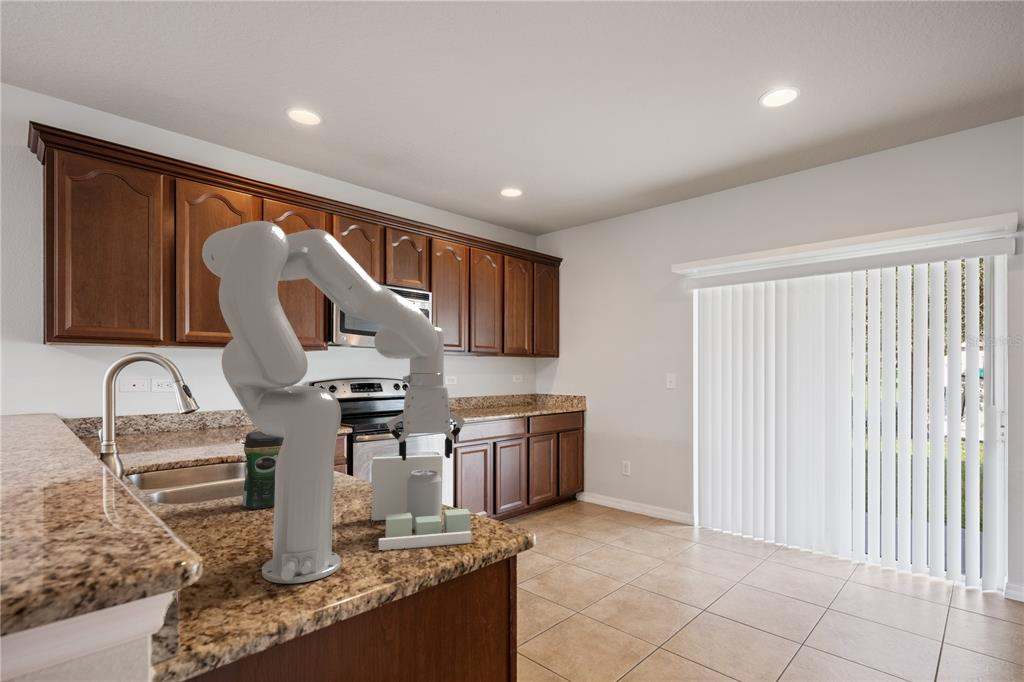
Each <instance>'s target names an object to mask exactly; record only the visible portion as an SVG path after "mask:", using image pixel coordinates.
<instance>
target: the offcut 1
mask: <svg viewBox="0 0 1024 682" xmlns="http://www.w3.org/2000/svg"><path fill="white" fill-rule="evenodd" d="M404 536H413V529H412V515H411V512H410V513H395V514H386V520H385V535H384V538H391V537H404Z"/></svg>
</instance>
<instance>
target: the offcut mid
mask: <svg viewBox="0 0 1024 682" xmlns="http://www.w3.org/2000/svg"><path fill="white" fill-rule="evenodd" d="M442 532H443V521H442V518H440V516H425V517H415V530H414V536H416V535H428V534H441V533H442Z"/></svg>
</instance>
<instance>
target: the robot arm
mask: <svg viewBox="0 0 1024 682" xmlns="http://www.w3.org/2000/svg"><path fill="white" fill-rule="evenodd" d="M201 252H202V253H201V256H202V260H203V263H204V264H205V266H206V268H207V269H208V270H209V271H210V272H211V273H212V274H213V275H215V276H217V277H219V278H220V281H219V287H218V288H219V289H218V302H219V308H220V311H221V314H222V317H223V319H224V321H225V323H226V325H227V327H228V330H229V331H230V333H231V336H232V337H233V338H232V339H231V340H230V341H229V342H228V343H227V344H226V345H225V346H224V348H223V352H222V355H221V370H222V372H223V376H224V378H225V379H226V382H227V384H228V386H229V387H230V389H231V391H232V393H233V394H234V396H235V398H236V400H237V401H238V402H239V404H240V406H241V407H242V409H243V410H244V412H245V414H246V415H247V417H248V419H249V420H250V422H251V423H252V425H254V427H255V428H257V430H258V431H261V432H262V433H264V434H267V435H270V436H274V437H280V438H284V440H283V443H282V446H281V449H280V451H279V454H278V457H277V462H276V468H275V501H274V506H273V512H274V513H273V535H272V537H273V539H272V544H273V545H272V558H271V559H269V560H268V561H266V562H265V563H264V564H263V566H262V567H261V576H262V577H263V579H265V580H266V581H268V582H271V583H274V584H275V583H276V584H284V585H285V584H301V583H308V582H312V581H317V580H320V579H323V578H325V577H328V576H330V575H332V574H333V573H335V572H336V571H338V569H340V567H341V564H342V563H341V561H342V559H341V556H340V555H339V554H337V553H336V552H333V520H334V519H333V515H334V479H335V477H334V474H335V473H334V472H335V471H334V470H335V453H336V444H337V439H338V434H339V430H340V426H341V421H342V409H341V408H342V407H341V406H340V402H339V400H338V399H337V398H336V395H334V394H333V393H332V392H330V391H329V390H327V389H325V388H322V387H319V386H314V385H313V386H312V385H297V384H298V383H300V382H301V381H302V380H303V379H304V377H305V376H306V375H307V372H308V366H309V364H308V358H307V355H306V352H305V351H304V348H303V345H301V342H300V340H299V339H298V336H297V335H296V333H295V331H294V329H293V327H292V325H291V323H290V321H289V320H288V319H289V318H287V315H286V314H285V311H284V309H283V307H282V305H281V302H280V299H279V293H278V291H279V290H278V286H279V282H280V281H281V282H282V281H297V280H303V279H307V280H309V281H310V282H311V283H312V284H313V286H315V287H316V288H318V289H319V290H320V291H321V292H322V293H323V294H324V295H325V296H326V297H327V298H328V299H329V300H330V301H331V302H332V303H333V304H334V305H335V306H336V307H337V308H338V309H339V310H340V311H342V312H343V314H344V313H345V314H347V315H349V316H351V317H354V318H357V319H360V320H364V321H369V322H372V323H375V324H378V325H381V326H382V327H380V329H378V330H377V332H376V333H375V336H374V339H373V343H374V348H375V350H376V351H377V352H378V353H379V354H380V355H381V356H383V357H385V358H388V359H391V360H392V359H393V360H394V359H396V360H403V359H409V372H408V373H409V374H408V375H406V376H403V377H402V383H406V384H408V385H409V387H406V390H405V394H404V399H403V400H404V401H403V410H402V411H403V412H402V413H401V414H398V415H397V416H394V417H393V418H391V419H388V420H387V421H386V426H387V428H388V429H389V432H390V433H391V435H392V436H393V437H394V438H395V439H396V440H397V441H398V456H402V460H403V461H405V460H406V456H407V441H406V438H407V437H408V436H409V435H410V434H411V435H412V434H413V435H414V434H416V435H417V434H440V433H443V434H444V435H445V438H444V456H445V458H446V459H450V458H451V455H452V454H454V453H453V440H454V439H455V438H456V437H457V436H458V435H459V433H460V432H461V430H462V428H463V426H464V424H465V422H466V421H465V419H464V418H462V417H459V416H457V415H456V414H453V413H452V412H450V399H449V391H448V387H446V386H445V387H444V377H445V376H444V366H445V363H444V362H445V361H444V359H445V358H444V355H445V353H444V352H445V350H444V346H445V343H444V341H445V334H444V330H443V328H441V327H439V326H434V325H433V323H432V322H431V321H430V319H429V318H428V317H427V316H426V315H425V313H424V312H422V311H421V308H419V307H418V306H417V305H415V304H414V303H412V301H410V300H409V299H407V298H405V297H403V296H402V295H400V294H398V293H396V292H395V291H392V290H391V289H389V288H387V287H385V286H383V285H382V284H380V283H378V282H376V281H375V280H374V279H373V278H372V277H371V276H370V275H369V274H368V273H367V272H366V270H365V269H363V267H362V266H361V265H360V264H359V263H358V262H357V261H356V260H355V259H354V257H352V256H351V254H350V253H349V252H348V250H346V249H345V248H344V247H343V245H342V244H341V243H340V242H339V241H338V240H337V239H336V238H335V236H333V235H332V234H331V233H329V232H327V231H326V230H323V229H315V228H314V229H313V228H312V229H307V230H306V229H305V230H301V231H297V232H293V233H289V234H288V233H287V234H286V233H285V232H284V230H283V229H282V228H281V227H280V226H278V225H277V224H275V223H273V222H272V221H271V222H270V221H266V220H254V221H249V222H245V223H241V224H238V225H236V226H232V227H227V228H225V229H221V230H218V231H216V232H213V233H212V234H211V235H209V236H208V237H207V238H206V240H205V241H204V244H203V246H202V249H201ZM451 420H452V421H454V422H455V423H456V425H455V427H454V428H453V429H452V430H451V431H450V428H451ZM400 422H402V426H403V427H402V428H403V430H402V431H401V432H399V431H398V430H397V429H396V427H395V425H396V424H398V423H400Z"/></svg>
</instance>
